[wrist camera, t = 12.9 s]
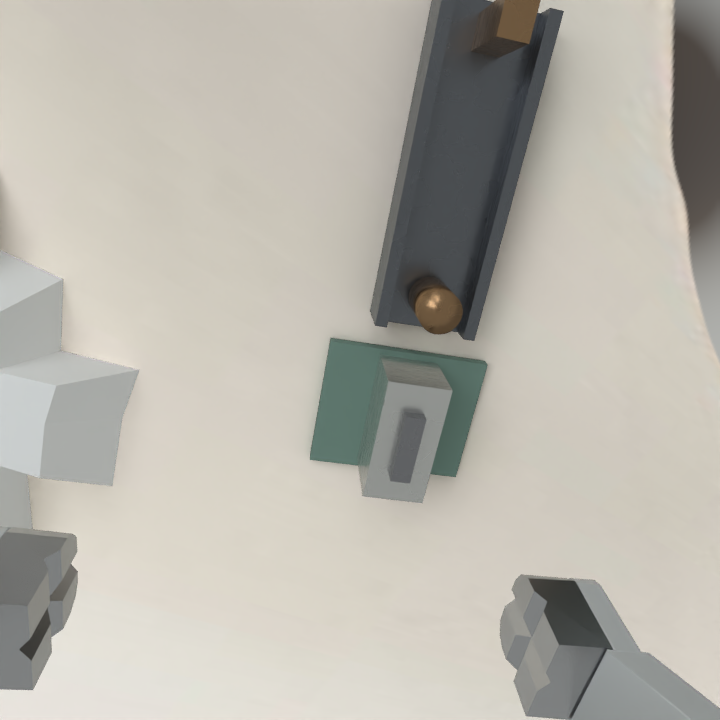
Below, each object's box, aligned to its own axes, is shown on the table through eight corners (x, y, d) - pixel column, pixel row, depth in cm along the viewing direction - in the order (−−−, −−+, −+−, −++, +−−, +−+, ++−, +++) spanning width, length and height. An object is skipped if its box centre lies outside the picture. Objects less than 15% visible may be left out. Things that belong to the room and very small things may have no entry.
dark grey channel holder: (432, -3, 34) (460, -38, 27) (540, 23, 35) (592, -4, 28) (370, 311, 41) (380, 343, 34) (461, 325, 42) (489, 359, 35)
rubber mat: (330, 337, 41) (330, 341, 40) (484, 360, 43) (487, 364, 42) (310, 454, 45) (310, 459, 44) (453, 471, 46) (455, 476, 45)
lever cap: (380, 354, 41) (390, 386, 36) (437, 363, 42) (455, 395, 36) (357, 459, 44) (363, 503, 39) (410, 465, 45) (424, 509, 39)
